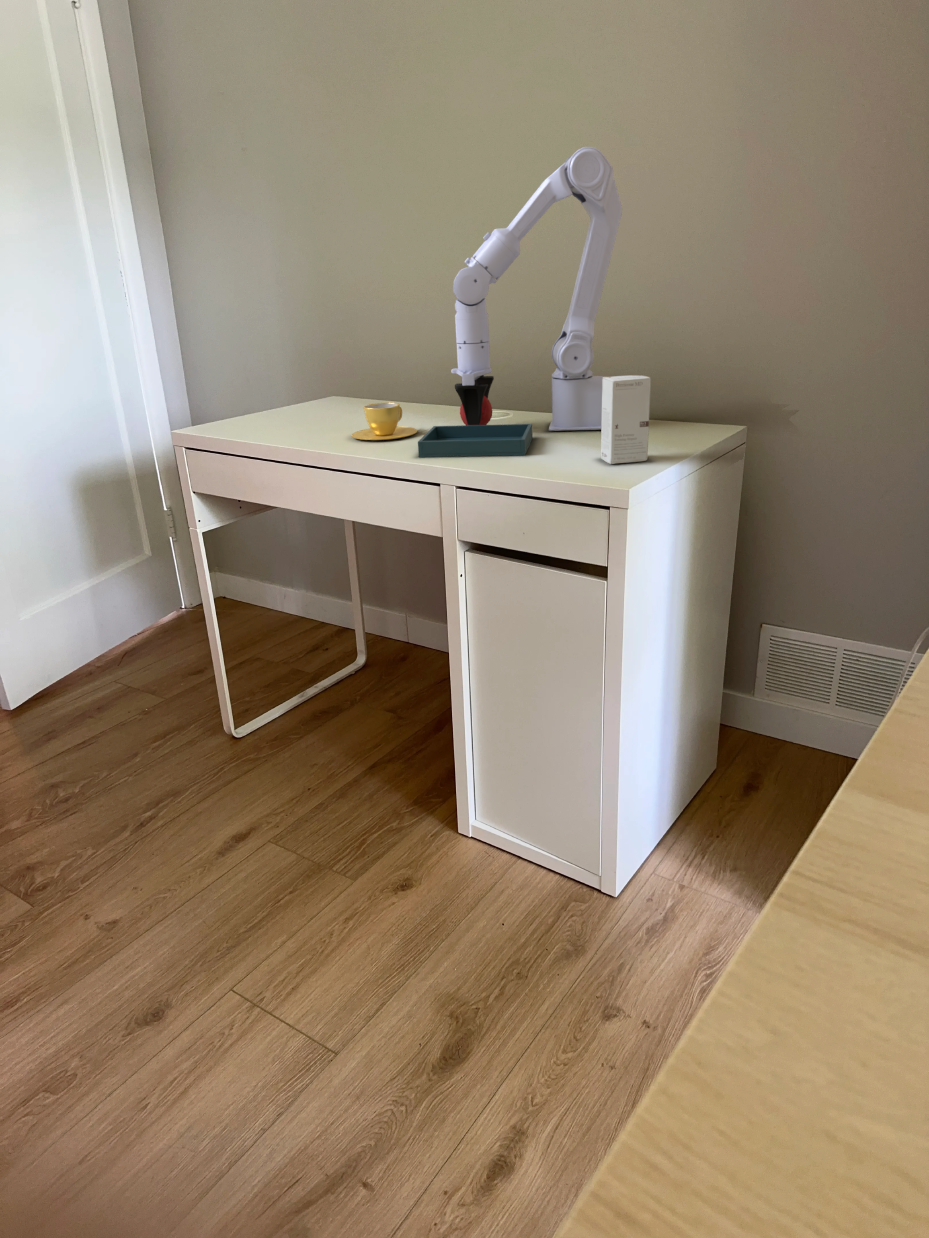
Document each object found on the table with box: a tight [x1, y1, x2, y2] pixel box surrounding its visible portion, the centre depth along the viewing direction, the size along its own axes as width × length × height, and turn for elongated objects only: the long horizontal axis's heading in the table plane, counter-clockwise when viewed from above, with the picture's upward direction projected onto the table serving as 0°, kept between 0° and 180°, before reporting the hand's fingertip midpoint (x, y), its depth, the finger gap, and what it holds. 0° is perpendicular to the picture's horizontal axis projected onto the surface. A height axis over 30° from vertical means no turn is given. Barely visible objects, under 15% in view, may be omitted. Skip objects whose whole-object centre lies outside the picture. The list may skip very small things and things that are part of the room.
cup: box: [351, 402, 418, 441], centre depth 155 cm, size 12×12×5 cm
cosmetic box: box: [600, 374, 652, 465], centre depth 125 cm, size 6×4×12 cm
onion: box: [459, 396, 493, 425], centre depth 152 cm, size 6×6×8 cm
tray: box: [417, 423, 533, 458], centre depth 141 cm, size 17×13×2 cm
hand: (476, 421), depth 153 cm, fingers closed on onion, 6 cm apart
